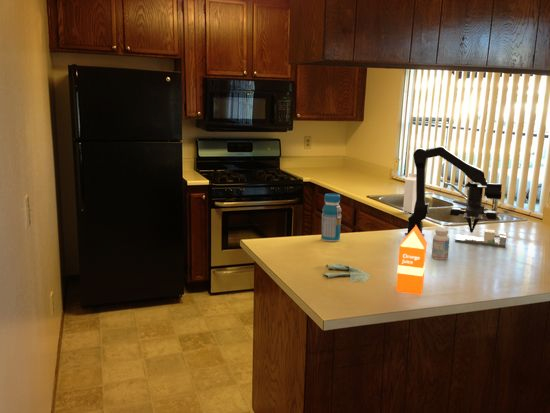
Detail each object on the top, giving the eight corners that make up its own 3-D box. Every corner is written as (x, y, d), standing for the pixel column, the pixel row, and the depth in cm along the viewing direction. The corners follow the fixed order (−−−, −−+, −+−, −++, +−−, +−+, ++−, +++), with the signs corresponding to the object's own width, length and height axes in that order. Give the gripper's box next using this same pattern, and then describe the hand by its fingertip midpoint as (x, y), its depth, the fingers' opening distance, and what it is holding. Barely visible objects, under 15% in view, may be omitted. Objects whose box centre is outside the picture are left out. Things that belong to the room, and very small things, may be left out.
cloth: (372, 286, 160) (372, 279, 160) (305, 281, 164) (305, 274, 164) (371, 267, 180) (372, 261, 180) (311, 263, 184) (312, 257, 184)
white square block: (483, 242, 211) (484, 232, 210) (484, 237, 218) (485, 229, 217) (504, 244, 208) (505, 235, 207) (504, 240, 215) (505, 231, 214)
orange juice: (395, 291, 155) (400, 229, 151) (399, 282, 163) (403, 223, 159) (421, 294, 152) (426, 231, 148) (423, 285, 160) (428, 225, 157)
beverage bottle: (324, 242, 211) (326, 196, 207) (318, 237, 219) (320, 193, 215) (342, 241, 212) (345, 196, 209) (336, 236, 220) (338, 192, 217)
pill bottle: (442, 255, 195) (445, 227, 193) (450, 260, 189) (453, 231, 187) (428, 255, 194) (430, 228, 192) (436, 260, 188) (438, 231, 186)
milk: (411, 214, 274) (414, 174, 269) (402, 212, 278) (405, 173, 274) (418, 213, 277) (421, 174, 273) (409, 211, 282) (412, 172, 278)
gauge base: (455, 242, 216) (455, 232, 215) (456, 236, 225) (457, 227, 224) (505, 247, 208) (506, 237, 207) (505, 242, 217) (506, 232, 216)
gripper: (450, 198, 211) (447, 233, 214) (498, 202, 203) (494, 239, 206) (452, 194, 221) (449, 228, 224) (498, 198, 213) (494, 233, 216)
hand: (471, 232), depth 217 cm, fingers closed
